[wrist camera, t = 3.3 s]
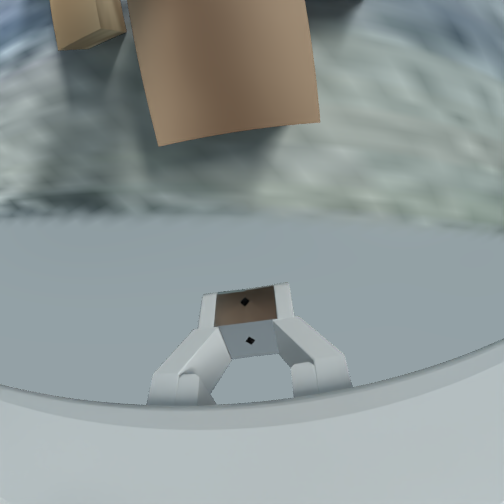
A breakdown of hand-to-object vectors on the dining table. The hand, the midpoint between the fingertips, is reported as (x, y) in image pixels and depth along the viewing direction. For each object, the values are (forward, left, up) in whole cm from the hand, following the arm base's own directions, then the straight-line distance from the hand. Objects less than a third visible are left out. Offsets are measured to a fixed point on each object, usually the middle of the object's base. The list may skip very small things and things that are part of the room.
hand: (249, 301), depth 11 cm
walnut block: (-1, -9, -8) cm, 12 cm away
